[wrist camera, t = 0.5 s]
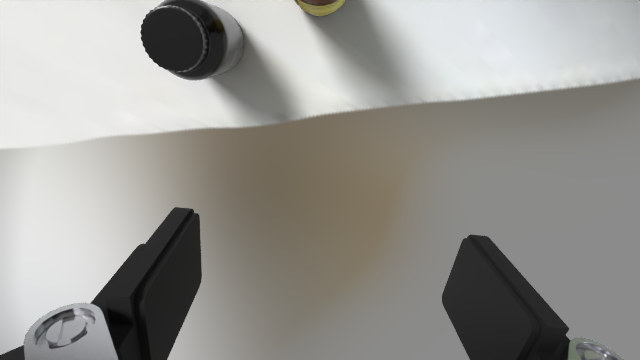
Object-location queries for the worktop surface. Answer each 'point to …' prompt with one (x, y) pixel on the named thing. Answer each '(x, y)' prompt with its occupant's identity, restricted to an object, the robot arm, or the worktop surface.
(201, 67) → the supplement bottle
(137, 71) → the worktop surface
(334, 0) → the sauce bottle
